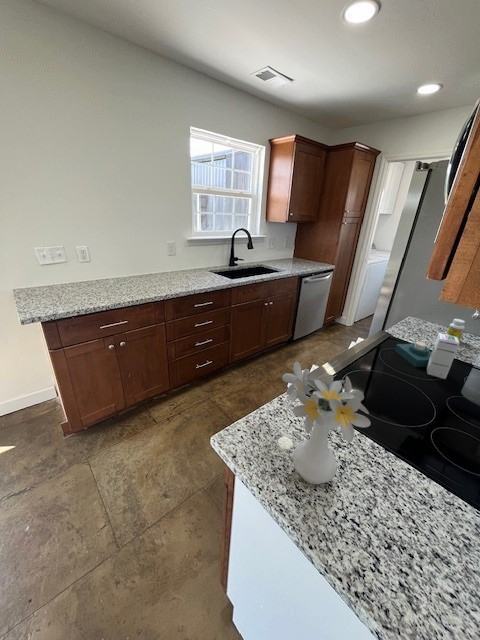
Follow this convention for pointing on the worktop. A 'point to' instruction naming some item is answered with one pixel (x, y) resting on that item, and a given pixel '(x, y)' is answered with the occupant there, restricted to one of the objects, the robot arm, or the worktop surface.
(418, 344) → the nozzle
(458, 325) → the supplement bottle
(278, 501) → the worktop surface
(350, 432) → the flower vase
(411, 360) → the cap block
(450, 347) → the syrup box
